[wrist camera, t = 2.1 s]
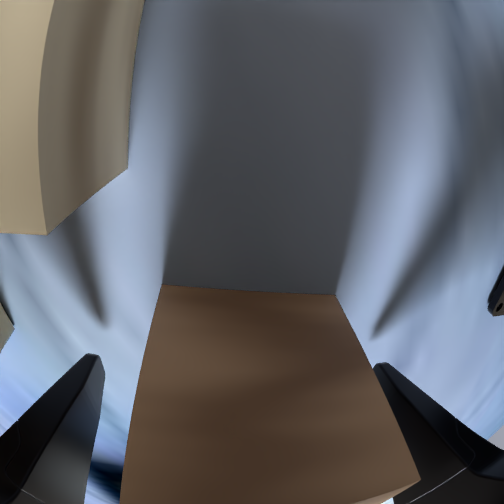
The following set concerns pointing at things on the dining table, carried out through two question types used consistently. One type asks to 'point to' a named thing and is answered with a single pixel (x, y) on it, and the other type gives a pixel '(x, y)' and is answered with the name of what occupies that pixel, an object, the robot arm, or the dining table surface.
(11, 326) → the stack of blocks
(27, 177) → the birch block
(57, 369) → the dining table surface
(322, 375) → the walnut cube
